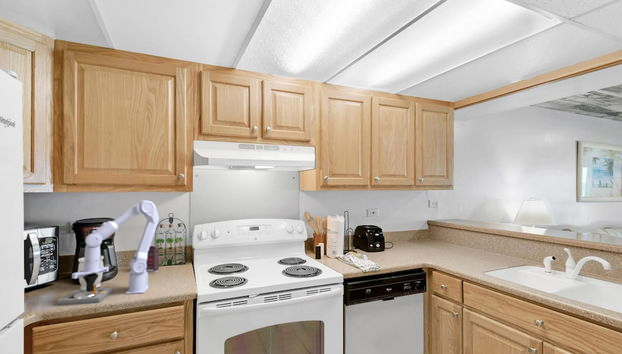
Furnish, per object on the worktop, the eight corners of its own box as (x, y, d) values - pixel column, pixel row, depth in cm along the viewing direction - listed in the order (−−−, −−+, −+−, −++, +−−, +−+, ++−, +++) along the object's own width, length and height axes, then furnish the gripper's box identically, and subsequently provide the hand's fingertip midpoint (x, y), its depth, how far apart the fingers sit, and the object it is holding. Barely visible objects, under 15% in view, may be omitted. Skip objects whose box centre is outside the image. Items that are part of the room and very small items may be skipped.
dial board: (74, 294, 140) (74, 289, 140) (112, 292, 143) (112, 287, 144) (57, 305, 128) (57, 299, 128) (98, 302, 131) (98, 297, 131)
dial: (68, 299, 132) (68, 287, 132) (86, 292, 141) (87, 280, 141) (85, 300, 130) (86, 288, 130) (103, 293, 139) (103, 281, 139)
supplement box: (158, 270, 180) (159, 244, 181) (154, 273, 175) (154, 246, 176) (145, 270, 181) (145, 244, 181) (140, 272, 176) (140, 245, 176)
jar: (104, 287, 150) (105, 257, 150) (78, 292, 143) (79, 261, 144) (101, 282, 158) (102, 254, 158) (76, 287, 151) (77, 257, 152)
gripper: (80, 264, 127) (77, 297, 126) (113, 258, 140) (112, 287, 139) (69, 262, 129) (67, 294, 128) (104, 256, 143) (102, 285, 142)
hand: (89, 291), depth 134 cm, fingers closed, pressing on dial
